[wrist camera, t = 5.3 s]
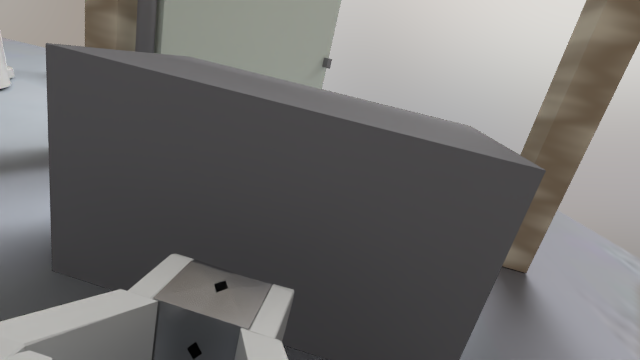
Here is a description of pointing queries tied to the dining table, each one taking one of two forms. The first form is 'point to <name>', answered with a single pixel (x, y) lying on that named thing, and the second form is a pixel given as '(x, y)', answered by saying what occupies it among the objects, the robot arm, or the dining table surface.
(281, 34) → the door
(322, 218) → the block
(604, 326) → the dining table surface
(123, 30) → the door frame
